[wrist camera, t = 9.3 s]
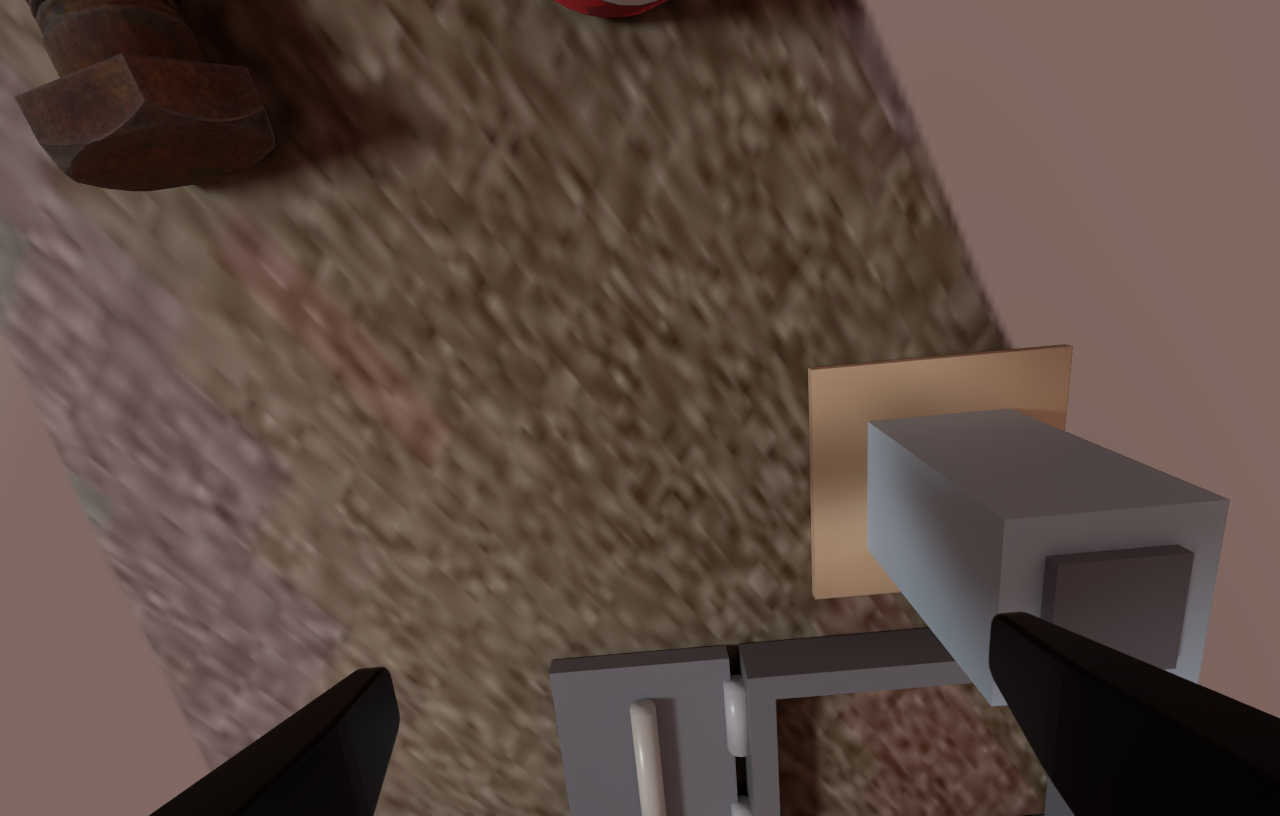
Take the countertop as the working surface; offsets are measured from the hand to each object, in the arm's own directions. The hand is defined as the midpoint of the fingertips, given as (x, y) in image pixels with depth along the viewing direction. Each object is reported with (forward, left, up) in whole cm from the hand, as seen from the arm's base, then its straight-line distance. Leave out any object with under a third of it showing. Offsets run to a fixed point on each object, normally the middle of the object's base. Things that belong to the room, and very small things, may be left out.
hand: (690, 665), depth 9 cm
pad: (-3, -10, -13) cm, 17 cm away
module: (-3, -10, -13) cm, 16 cm away
